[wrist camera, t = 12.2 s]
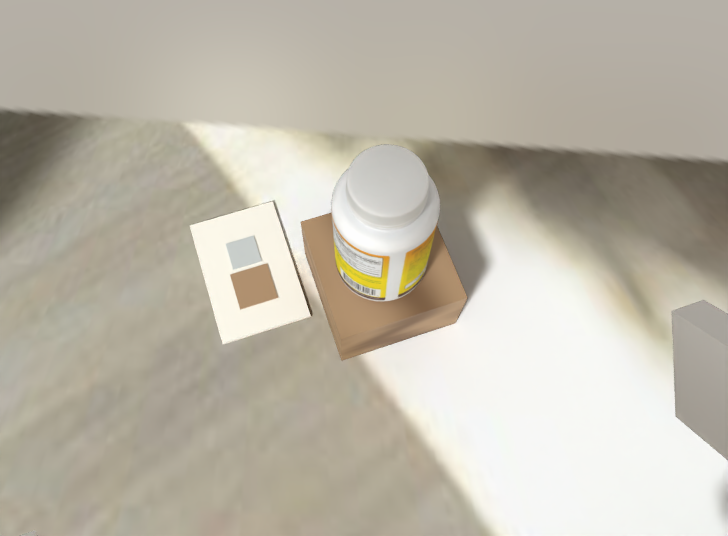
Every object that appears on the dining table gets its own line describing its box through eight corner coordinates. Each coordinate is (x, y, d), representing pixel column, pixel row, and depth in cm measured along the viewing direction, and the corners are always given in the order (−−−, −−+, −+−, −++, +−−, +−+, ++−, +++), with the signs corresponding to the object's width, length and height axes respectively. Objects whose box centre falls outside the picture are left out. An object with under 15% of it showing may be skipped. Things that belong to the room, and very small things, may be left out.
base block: (341, 360, 45) (341, 339, 40) (305, 253, 48) (300, 221, 43) (455, 322, 46) (467, 297, 41) (413, 220, 49) (420, 186, 44)
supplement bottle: (419, 216, 43) (437, 124, 34) (432, 300, 41) (456, 226, 32) (330, 225, 43) (324, 134, 34) (339, 309, 41) (335, 237, 31)
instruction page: (223, 344, 45) (222, 343, 45) (190, 226, 48) (189, 224, 48) (310, 316, 46) (310, 315, 46) (272, 202, 49) (272, 200, 49)
